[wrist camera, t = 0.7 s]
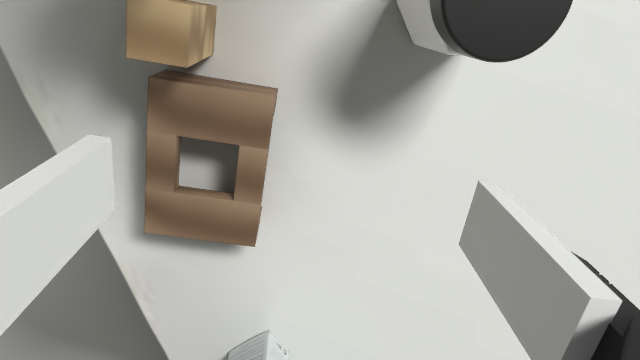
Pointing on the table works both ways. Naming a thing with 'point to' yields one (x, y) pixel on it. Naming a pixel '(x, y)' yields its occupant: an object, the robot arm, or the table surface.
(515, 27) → the jar
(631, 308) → the robot arm
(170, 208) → the bridge
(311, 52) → the table surface
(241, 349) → the skincare box
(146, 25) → the peg mid
